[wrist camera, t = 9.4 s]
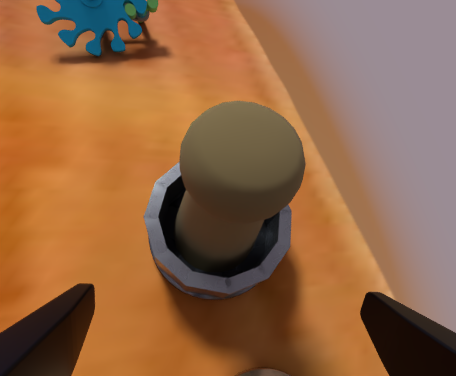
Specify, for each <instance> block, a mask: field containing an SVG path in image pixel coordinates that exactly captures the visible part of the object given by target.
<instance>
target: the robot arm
mask: <svg viewBox="0 0 456 376" xmlns="http://www.w3.org/2000/svg"><path fill="white" fill-rule="evenodd" d="M94 310H95V290H94V285H93V284H85V283H80V284H77V285H75V286H74V287H72V288H71V289H69V290H67V291H66V292H64V293H63V294H61V295H59V296H58V297H56V298H55V299H53V300H52V301H50V302H48V303H47V304H45V305H44V306H42V307H40V308H39V309H37V310H36V311H34V312H33V313H31V314H29V315H28V316H26V317H25V318H23V319H22V320H20V321H18V322H17V323H15V324H14V325H12V326H10V327H9V328H7V329H6V330H4V331H3V332H1V333H0V376H71V375H72V372H73V370H74V368H75V365H76V363H77V360H78V357H79V354H80V351H81V349H82V346H83V343H84V340H85V337H86V334H87V332H88V329H89V326H90V323H91V320H92V318H93V315H94ZM360 315H361V319H362V321H363V323H364V325H365V327H366V329H367V332H368V334H369V336H370V338H371V340H372V342H373V344H374V346H375V349H376V351H377V353H378V355H379V357H380V359H381V361H382V363H383V365H384V367H385V369H386V370H387V372H388V374H389V376H456V333H455V332H453V331H451V330H449V329H447V328H446V327H444V326H442V325H440V324H438V323H436V322H434V321H432V320H431V319H429V318H427V317H425V316H423V315H421V314H419V313H417V312H416V311H414V310H412V309H410V308H408V307H406V306H405V305H403V304H401V303H399V302H397V301H395V300H393V299H392V298H390V297H388V296H386V295H384V294H382V293H380V292H368V293H367V294H366V295H365V298H364V301H363V304H362V307H361V311H360Z"/></svg>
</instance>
